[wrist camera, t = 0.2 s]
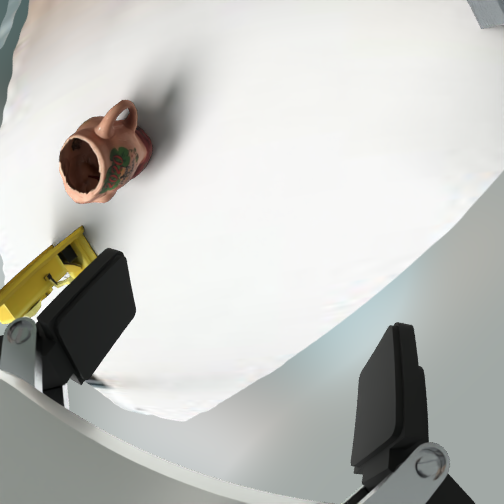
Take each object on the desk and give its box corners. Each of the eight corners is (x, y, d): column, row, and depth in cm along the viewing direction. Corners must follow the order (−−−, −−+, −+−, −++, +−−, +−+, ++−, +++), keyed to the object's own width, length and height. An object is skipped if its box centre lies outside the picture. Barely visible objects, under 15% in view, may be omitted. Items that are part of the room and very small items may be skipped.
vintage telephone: (66, 289, 80) (5, 356, 56) (41, 251, 75) (-27, 314, 51) (126, 269, 67) (44, 363, 42) (94, 218, 61) (-4, 302, 37)
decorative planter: (129, 76, 42) (70, 86, 31) (184, 107, 43) (131, 124, 32) (96, 167, 54) (46, 195, 42) (141, 199, 55) (95, 236, 44)
